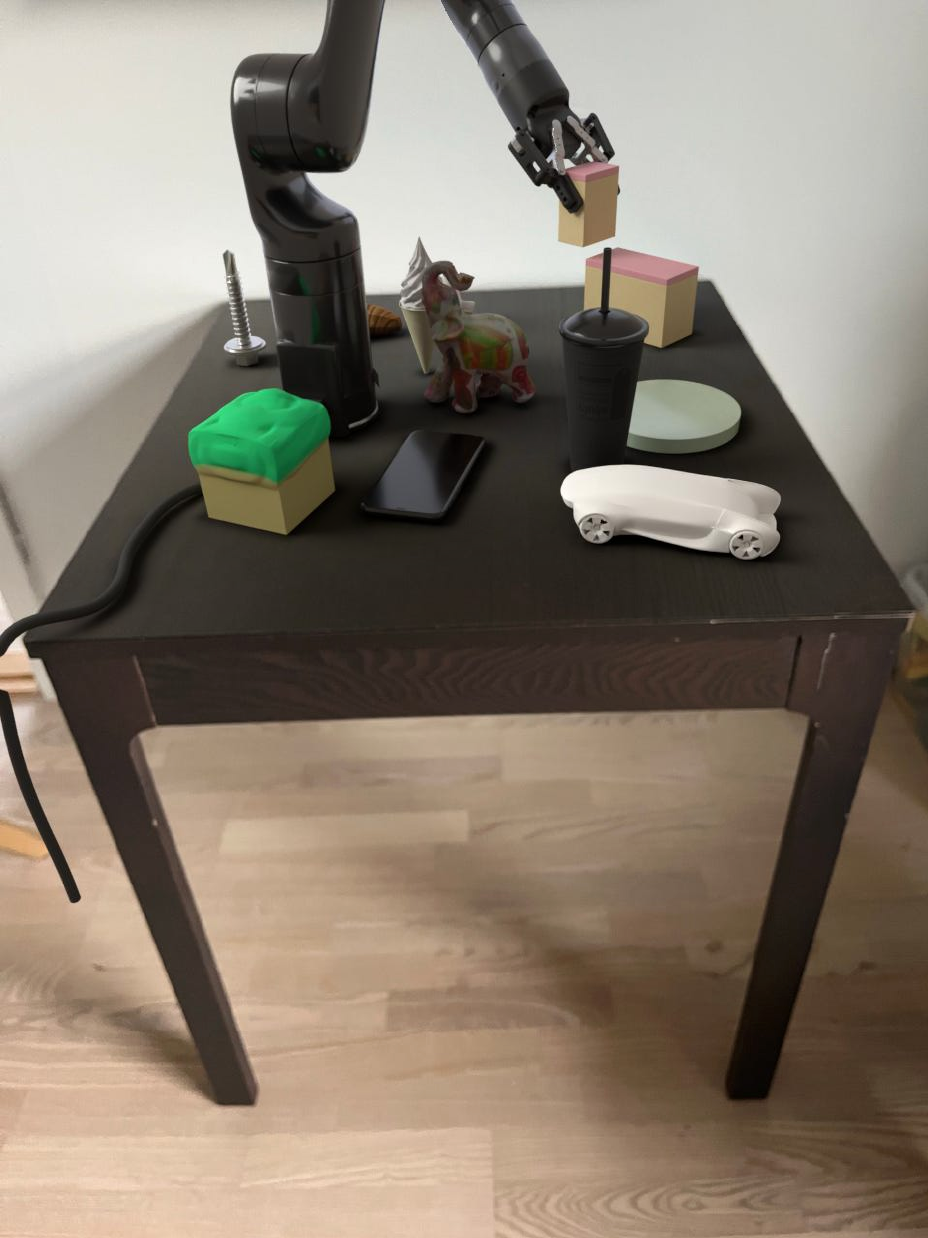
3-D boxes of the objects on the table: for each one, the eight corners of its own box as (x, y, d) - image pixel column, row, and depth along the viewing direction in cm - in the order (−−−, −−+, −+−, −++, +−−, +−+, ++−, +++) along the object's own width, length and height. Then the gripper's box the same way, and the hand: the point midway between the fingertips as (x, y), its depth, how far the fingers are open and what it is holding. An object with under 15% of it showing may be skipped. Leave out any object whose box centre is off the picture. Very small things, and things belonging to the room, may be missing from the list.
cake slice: (615, 236, 118) (619, 165, 113) (583, 247, 115) (585, 174, 110) (590, 230, 120) (593, 160, 116) (557, 241, 117) (559, 170, 112)
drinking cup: (645, 454, 93) (662, 237, 81) (629, 492, 87) (645, 265, 75) (567, 444, 95) (573, 232, 83) (546, 481, 89) (549, 259, 77)
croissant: (290, 344, 119) (283, 304, 116) (302, 324, 124) (297, 285, 121) (398, 344, 118) (395, 303, 115) (406, 324, 123) (403, 284, 120)
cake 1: (351, 483, 90) (339, 381, 84) (289, 540, 83) (270, 433, 77) (263, 466, 94) (245, 367, 88) (196, 519, 86) (171, 415, 80)
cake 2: (692, 333, 117) (699, 266, 112) (661, 348, 113) (667, 279, 109) (614, 311, 124) (617, 246, 119) (583, 324, 121) (585, 258, 116)
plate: (734, 460, 91) (736, 445, 90) (586, 445, 94) (587, 431, 94) (743, 398, 102) (745, 385, 101) (610, 387, 105) (611, 374, 104)
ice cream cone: (448, 381, 108) (441, 242, 99) (402, 382, 108) (391, 244, 99) (449, 363, 112) (443, 228, 103) (405, 364, 112) (395, 230, 103)
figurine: (435, 385, 107) (427, 245, 98) (540, 394, 104) (542, 251, 95) (413, 414, 102) (402, 269, 93) (523, 425, 99) (523, 276, 90)
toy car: (777, 514, 83) (785, 466, 80) (776, 564, 77) (785, 514, 74) (569, 493, 87) (570, 448, 84) (552, 539, 81) (553, 492, 78)
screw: (275, 362, 115) (239, 373, 112) (255, 350, 118) (219, 361, 115) (257, 248, 107) (217, 258, 104) (236, 240, 110) (197, 249, 107)
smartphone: (412, 436, 97) (356, 516, 85) (411, 428, 97) (355, 507, 85) (488, 443, 96) (443, 525, 83) (488, 434, 95) (442, 516, 83)
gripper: (496, 64, 107) (574, 194, 107) (581, 49, 115) (654, 170, 115) (464, 112, 114) (538, 236, 114) (547, 95, 121) (616, 210, 121)
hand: (596, 202), depth 114 cm, fingers closed on cake slice, 6 cm apart
